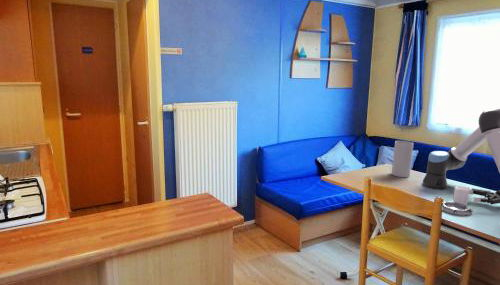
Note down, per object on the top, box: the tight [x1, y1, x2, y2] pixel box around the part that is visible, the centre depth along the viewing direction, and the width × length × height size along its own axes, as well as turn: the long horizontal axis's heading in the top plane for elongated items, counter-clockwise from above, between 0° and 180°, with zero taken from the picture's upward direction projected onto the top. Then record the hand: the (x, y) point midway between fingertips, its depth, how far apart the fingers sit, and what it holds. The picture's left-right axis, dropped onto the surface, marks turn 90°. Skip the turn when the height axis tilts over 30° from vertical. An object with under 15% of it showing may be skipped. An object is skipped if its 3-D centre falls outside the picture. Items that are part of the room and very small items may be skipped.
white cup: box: [453, 185, 471, 206], centre depth 210 cm, size 8×8×10 cm
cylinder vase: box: [391, 140, 414, 178], centre depth 265 cm, size 12×12×25 cm
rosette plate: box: [442, 200, 474, 217], centre depth 201 cm, size 16×16×3 cm
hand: (467, 195), depth 209 cm, fingers open, 13 cm apart
